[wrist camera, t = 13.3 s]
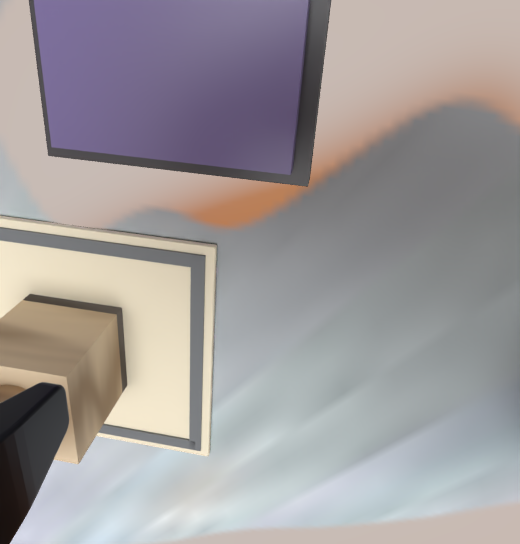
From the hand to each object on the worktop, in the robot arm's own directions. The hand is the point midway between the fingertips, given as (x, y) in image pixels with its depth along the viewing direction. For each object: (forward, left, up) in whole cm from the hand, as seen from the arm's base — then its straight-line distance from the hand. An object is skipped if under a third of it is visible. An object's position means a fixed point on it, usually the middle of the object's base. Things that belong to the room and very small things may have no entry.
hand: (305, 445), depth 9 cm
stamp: (+11, +8, -12) cm, 18 cm away
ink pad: (+6, -5, -12) cm, 14 cm away
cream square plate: (+11, +8, -12) cm, 18 cm away
